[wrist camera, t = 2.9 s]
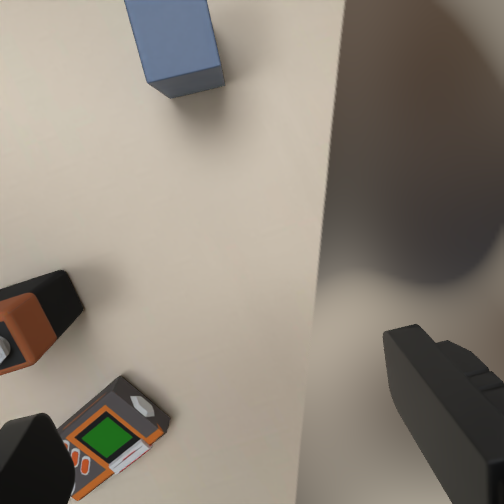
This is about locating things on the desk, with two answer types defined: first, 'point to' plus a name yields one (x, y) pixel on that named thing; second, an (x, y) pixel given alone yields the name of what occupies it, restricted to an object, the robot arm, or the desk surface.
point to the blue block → (176, 45)
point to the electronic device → (110, 434)
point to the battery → (34, 318)
